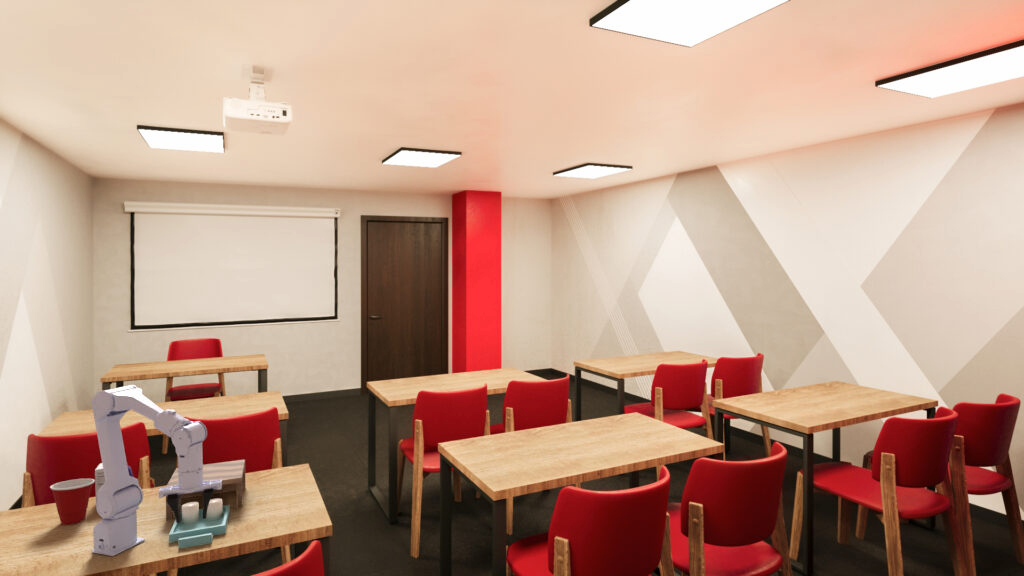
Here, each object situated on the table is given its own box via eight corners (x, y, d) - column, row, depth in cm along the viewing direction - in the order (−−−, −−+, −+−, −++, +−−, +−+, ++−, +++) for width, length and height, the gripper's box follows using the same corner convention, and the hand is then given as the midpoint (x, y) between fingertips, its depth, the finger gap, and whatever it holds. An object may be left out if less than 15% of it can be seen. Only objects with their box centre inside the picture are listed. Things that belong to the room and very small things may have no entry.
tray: (223, 541, 155) (223, 519, 155) (165, 551, 150) (165, 529, 150) (229, 512, 175) (229, 493, 175) (178, 520, 169) (178, 501, 169)
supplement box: (100, 500, 186) (99, 462, 186) (127, 496, 189) (126, 459, 189) (95, 508, 179) (93, 469, 179) (122, 504, 182) (121, 466, 182)
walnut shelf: (242, 508, 177) (241, 477, 177) (166, 520, 169) (165, 488, 169) (245, 487, 195) (244, 459, 195) (177, 497, 187) (176, 468, 187)
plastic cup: (104, 513, 175) (103, 476, 174) (74, 529, 164) (73, 489, 164) (73, 512, 176) (72, 475, 176) (41, 528, 165) (40, 488, 165)
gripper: (155, 478, 141) (157, 530, 141) (219, 469, 147) (220, 520, 147) (161, 469, 148) (162, 519, 148) (222, 461, 153) (223, 510, 153)
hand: (191, 519), depth 148 cm, fingers open, 5 cm apart
